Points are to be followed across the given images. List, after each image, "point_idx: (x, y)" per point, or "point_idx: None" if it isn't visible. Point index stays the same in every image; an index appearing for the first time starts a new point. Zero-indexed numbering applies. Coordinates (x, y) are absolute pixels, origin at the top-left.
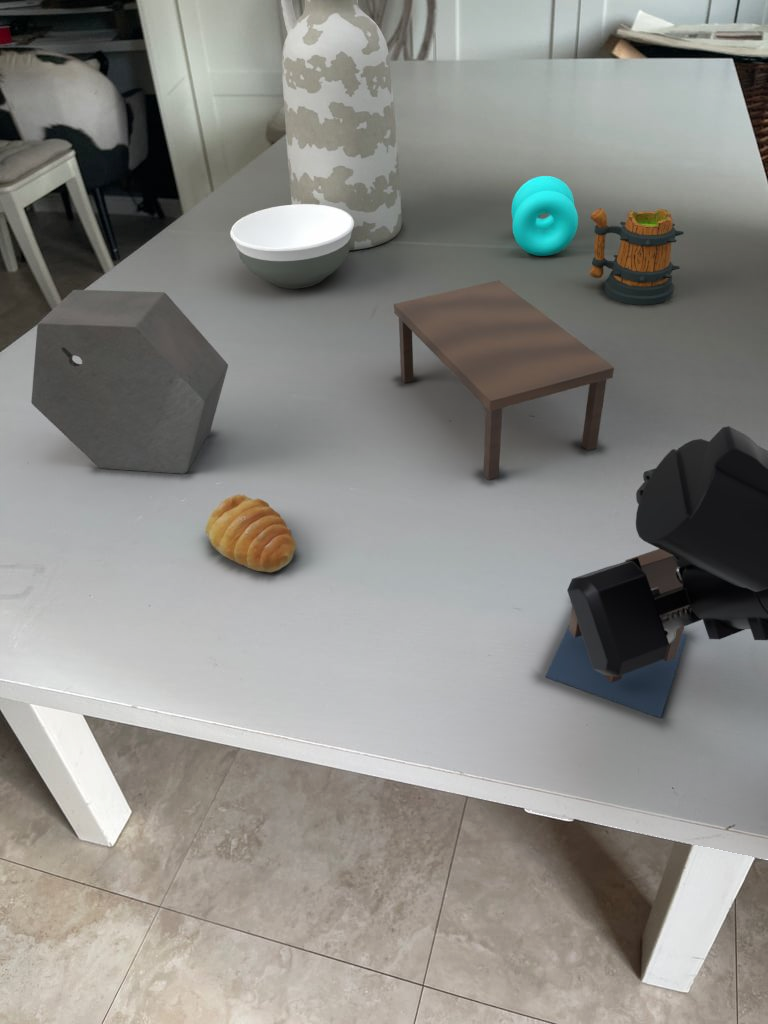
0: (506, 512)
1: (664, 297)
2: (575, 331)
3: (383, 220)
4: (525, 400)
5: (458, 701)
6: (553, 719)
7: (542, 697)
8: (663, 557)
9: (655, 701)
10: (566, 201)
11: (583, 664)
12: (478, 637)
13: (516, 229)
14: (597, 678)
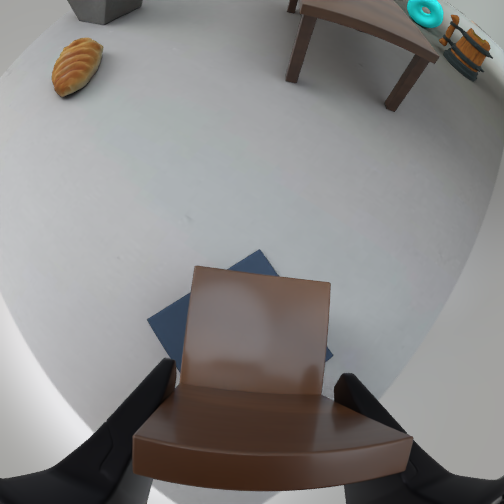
0: (275, 112)
1: (471, 78)
2: None
3: None
4: (343, 24)
5: (61, 290)
6: (121, 368)
7: (128, 339)
8: (257, 487)
9: None
10: (440, 9)
11: None
12: (125, 230)
13: (409, 3)
14: None
